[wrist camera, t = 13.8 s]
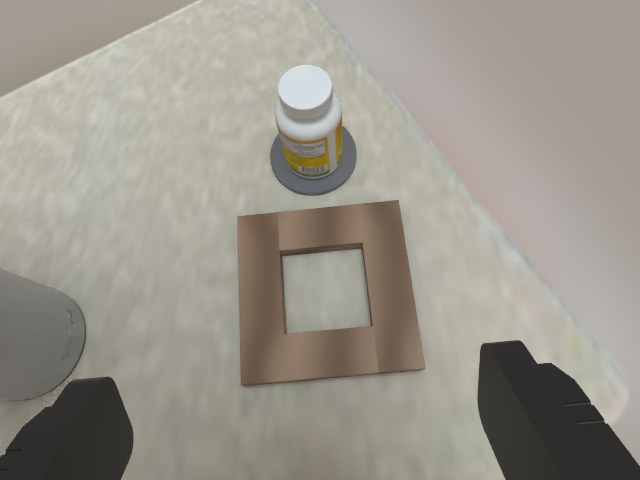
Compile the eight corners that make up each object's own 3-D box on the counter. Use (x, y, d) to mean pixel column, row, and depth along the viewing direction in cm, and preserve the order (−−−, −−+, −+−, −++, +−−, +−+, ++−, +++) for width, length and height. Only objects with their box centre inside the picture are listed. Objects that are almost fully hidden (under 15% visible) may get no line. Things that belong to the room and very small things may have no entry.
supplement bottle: (311, 192, 40) (300, 131, 31) (273, 154, 42) (252, 86, 33) (355, 155, 41) (356, 86, 32) (316, 120, 43) (307, 45, 34)
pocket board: (245, 385, 36) (241, 384, 34) (241, 222, 40) (237, 216, 39) (422, 369, 35) (425, 368, 34) (396, 207, 40) (398, 200, 39)
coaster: (273, 199, 41) (272, 196, 41) (269, 125, 44) (268, 121, 43) (360, 190, 41) (360, 187, 40) (351, 116, 44) (351, 112, 43)
